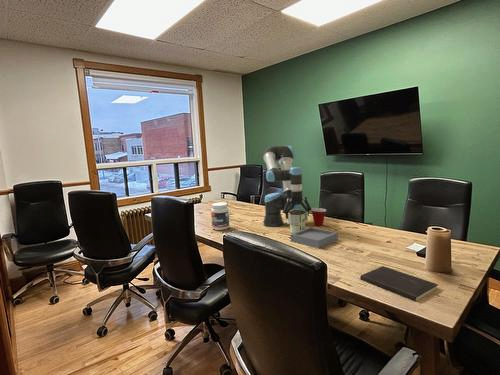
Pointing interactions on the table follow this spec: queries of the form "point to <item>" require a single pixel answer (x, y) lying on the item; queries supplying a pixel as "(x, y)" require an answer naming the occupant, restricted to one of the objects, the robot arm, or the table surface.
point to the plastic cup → (318, 216)
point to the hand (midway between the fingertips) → (297, 222)
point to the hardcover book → (399, 283)
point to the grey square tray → (314, 237)
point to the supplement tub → (220, 216)
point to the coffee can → (297, 220)
